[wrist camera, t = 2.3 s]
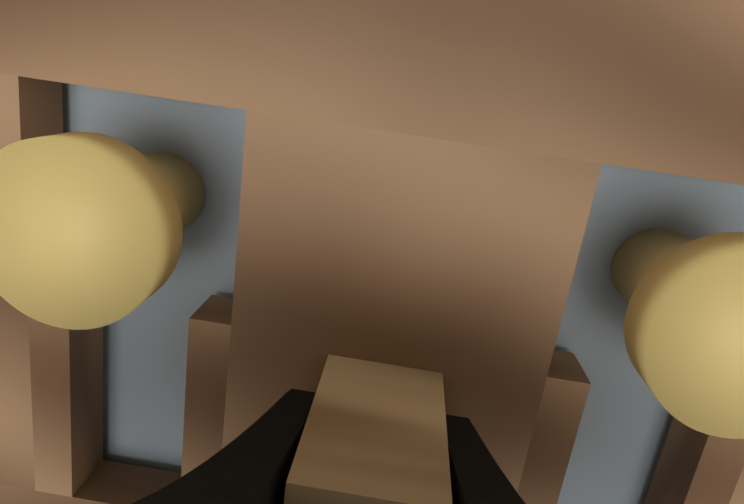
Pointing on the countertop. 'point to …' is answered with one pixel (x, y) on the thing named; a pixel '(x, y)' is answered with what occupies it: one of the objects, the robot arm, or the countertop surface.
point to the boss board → (217, 271)
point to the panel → (380, 228)
